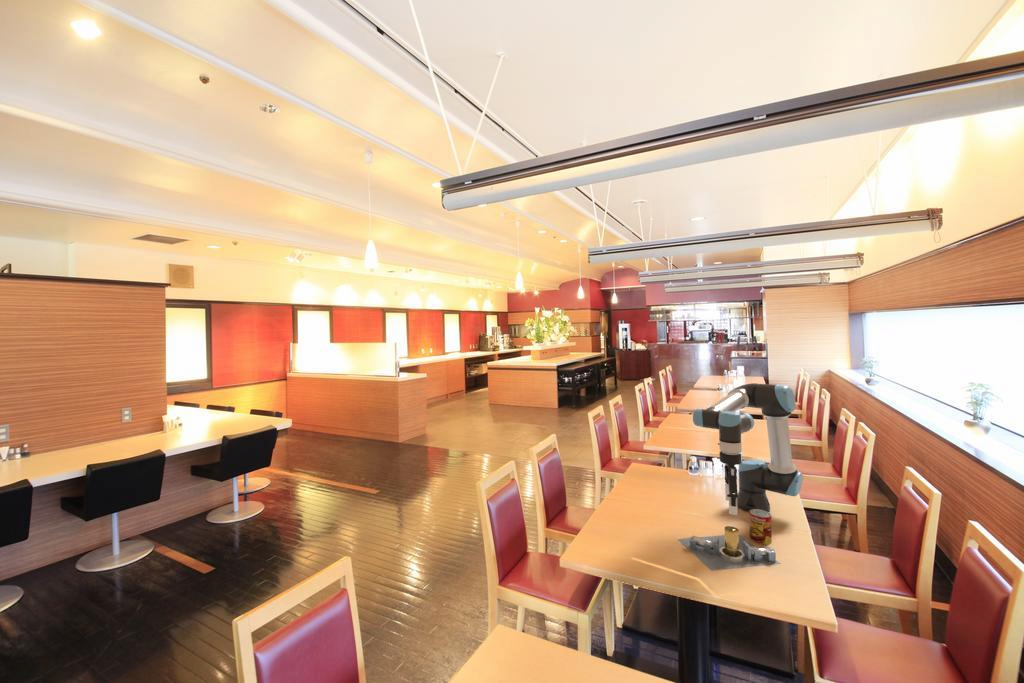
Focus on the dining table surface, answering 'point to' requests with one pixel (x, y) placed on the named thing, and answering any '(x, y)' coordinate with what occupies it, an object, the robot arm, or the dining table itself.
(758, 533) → the canned food
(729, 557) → the socket
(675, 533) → the dining table surface
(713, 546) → the shaft
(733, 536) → the cylinder
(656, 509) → the dining table surface
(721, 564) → the base board
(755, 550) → the shaft
